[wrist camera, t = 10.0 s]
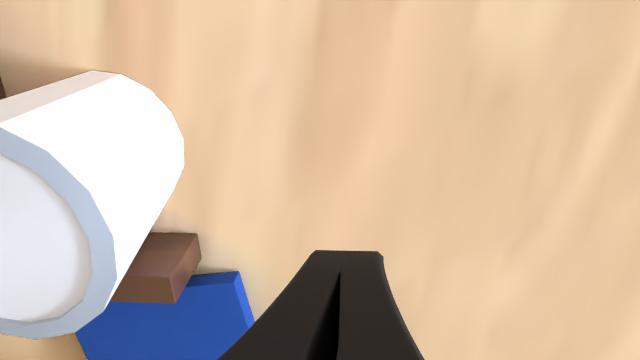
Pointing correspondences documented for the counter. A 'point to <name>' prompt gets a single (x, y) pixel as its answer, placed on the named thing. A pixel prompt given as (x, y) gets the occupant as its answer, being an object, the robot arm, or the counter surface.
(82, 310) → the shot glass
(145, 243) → the corner guard
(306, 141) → the counter surface
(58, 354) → the counter surface
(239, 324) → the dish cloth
